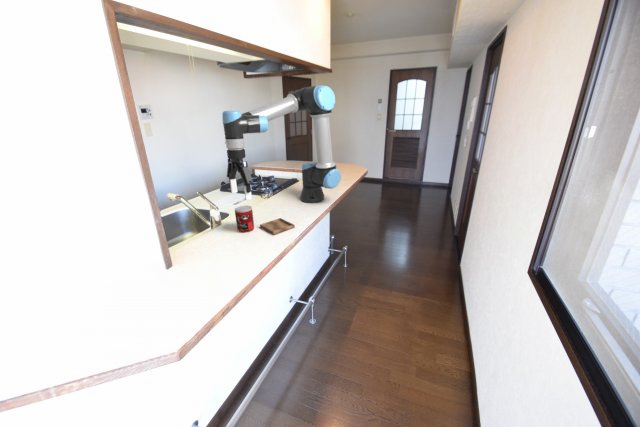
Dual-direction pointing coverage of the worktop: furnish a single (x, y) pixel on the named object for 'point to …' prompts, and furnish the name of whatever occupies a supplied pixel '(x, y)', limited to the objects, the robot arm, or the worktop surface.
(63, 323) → the worktop surface
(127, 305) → the worktop surface
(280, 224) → the coaster board
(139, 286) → the worktop surface
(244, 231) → the canned food
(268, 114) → the robot arm
